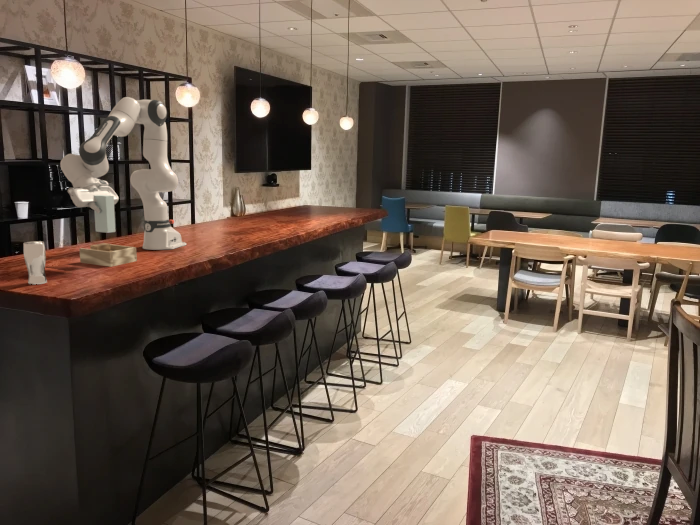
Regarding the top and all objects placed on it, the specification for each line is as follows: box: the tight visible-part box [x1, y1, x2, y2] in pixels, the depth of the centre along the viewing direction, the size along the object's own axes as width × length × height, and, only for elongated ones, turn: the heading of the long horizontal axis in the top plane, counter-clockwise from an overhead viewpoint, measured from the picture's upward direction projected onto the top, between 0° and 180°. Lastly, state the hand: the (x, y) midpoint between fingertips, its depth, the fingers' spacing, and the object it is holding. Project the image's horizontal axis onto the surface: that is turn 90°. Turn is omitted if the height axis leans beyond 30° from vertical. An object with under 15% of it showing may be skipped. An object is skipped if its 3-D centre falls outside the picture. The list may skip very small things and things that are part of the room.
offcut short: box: [89, 242, 111, 251], centre depth 242 cm, size 7×4×3 cm, turn 155°
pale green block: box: [94, 195, 116, 233], centre depth 233 cm, size 4×7×15 cm, turn 65°
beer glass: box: [23, 240, 48, 286], centre depth 205 cm, size 7×7×15 cm
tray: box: [79, 243, 138, 268], centre depth 240 cm, size 14×18×7 cm
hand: (105, 211), depth 232 cm, fingers closed on pale green block, 4 cm apart
